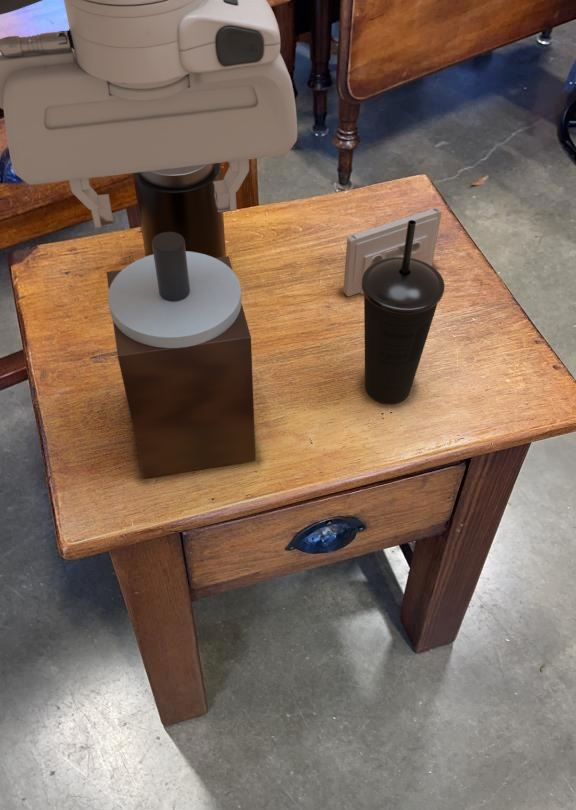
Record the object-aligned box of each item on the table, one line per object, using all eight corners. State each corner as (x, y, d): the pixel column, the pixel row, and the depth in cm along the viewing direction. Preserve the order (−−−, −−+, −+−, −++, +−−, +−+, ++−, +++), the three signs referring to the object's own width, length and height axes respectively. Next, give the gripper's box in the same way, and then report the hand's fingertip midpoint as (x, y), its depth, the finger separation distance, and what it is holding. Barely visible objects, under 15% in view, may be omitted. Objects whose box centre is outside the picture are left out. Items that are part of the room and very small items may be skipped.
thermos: (154, 306, 95) (134, 183, 82) (145, 257, 100) (125, 134, 88) (233, 295, 96) (226, 172, 83) (220, 247, 101) (211, 125, 89)
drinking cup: (424, 365, 89) (455, 199, 73) (423, 417, 85) (457, 252, 69) (353, 359, 90) (369, 193, 74) (349, 411, 85) (365, 246, 69)
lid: (116, 357, 67) (103, 295, 62) (104, 270, 73) (92, 209, 68) (252, 337, 68) (250, 276, 63) (229, 254, 75) (225, 193, 70)
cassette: (348, 300, 96) (353, 243, 89) (340, 290, 97) (344, 234, 90) (434, 269, 99) (445, 213, 93) (426, 260, 100) (435, 204, 94)
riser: (144, 478, 80) (117, 356, 67) (132, 397, 86) (106, 271, 73) (255, 460, 81) (251, 337, 68) (236, 382, 88) (228, 255, 75)
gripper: (-28, 65, 50) (30, 257, 61) (304, 31, 52) (301, 222, 63) (-27, 17, 53) (27, 207, 65) (283, -12, 56) (284, 176, 67)
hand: (165, 214), depth 64 cm, fingers open, 8 cm apart
